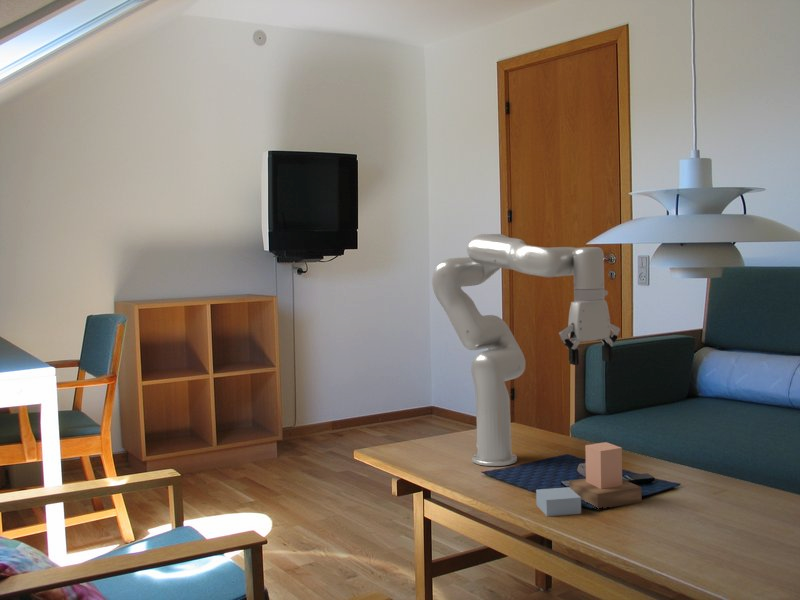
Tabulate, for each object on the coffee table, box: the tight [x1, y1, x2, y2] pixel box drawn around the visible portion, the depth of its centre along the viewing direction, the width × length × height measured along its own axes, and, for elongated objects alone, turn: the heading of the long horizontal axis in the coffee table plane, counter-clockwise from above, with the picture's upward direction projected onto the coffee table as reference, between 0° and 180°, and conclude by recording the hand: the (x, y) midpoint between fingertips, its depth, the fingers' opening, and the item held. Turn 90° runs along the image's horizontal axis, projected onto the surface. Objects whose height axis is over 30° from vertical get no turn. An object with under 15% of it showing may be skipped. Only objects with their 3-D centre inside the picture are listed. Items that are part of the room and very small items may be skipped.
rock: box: [576, 461, 586, 478], centre depth 212 cm, size 9×11×4 cm
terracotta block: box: [584, 441, 623, 489], centre depth 192 cm, size 6×6×9 cm
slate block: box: [535, 486, 582, 517], centre depth 185 cm, size 8×8×4 cm
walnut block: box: [568, 477, 643, 510], centre depth 192 cm, size 12×12×4 cm
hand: (590, 362), depth 205 cm, fingers open, 9 cm apart
